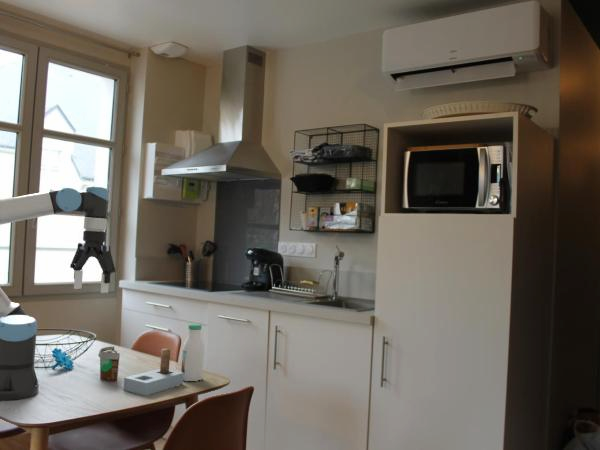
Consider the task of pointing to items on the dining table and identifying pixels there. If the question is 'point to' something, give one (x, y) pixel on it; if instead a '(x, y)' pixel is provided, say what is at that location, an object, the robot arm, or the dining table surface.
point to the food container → (109, 364)
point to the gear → (62, 359)
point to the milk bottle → (193, 354)
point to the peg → (165, 361)
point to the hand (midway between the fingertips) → (90, 290)
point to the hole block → (152, 382)
